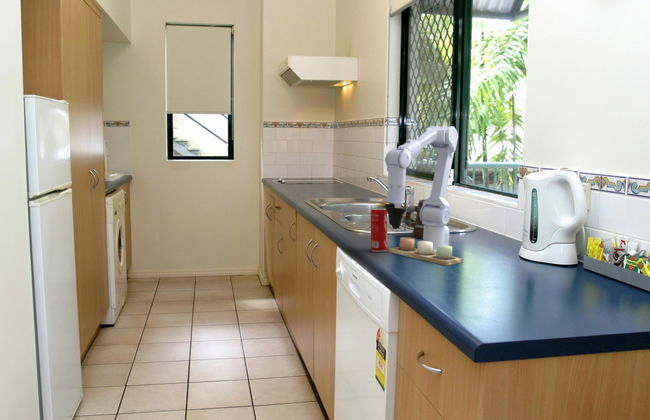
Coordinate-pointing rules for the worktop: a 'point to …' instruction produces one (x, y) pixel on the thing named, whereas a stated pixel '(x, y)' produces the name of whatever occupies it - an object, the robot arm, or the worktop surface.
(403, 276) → the worktop surface
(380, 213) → the beverage can
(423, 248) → the button cream
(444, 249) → the button sage
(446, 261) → the wooden board
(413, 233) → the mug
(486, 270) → the worktop surface
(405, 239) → the button terracotta
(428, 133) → the robot arm
